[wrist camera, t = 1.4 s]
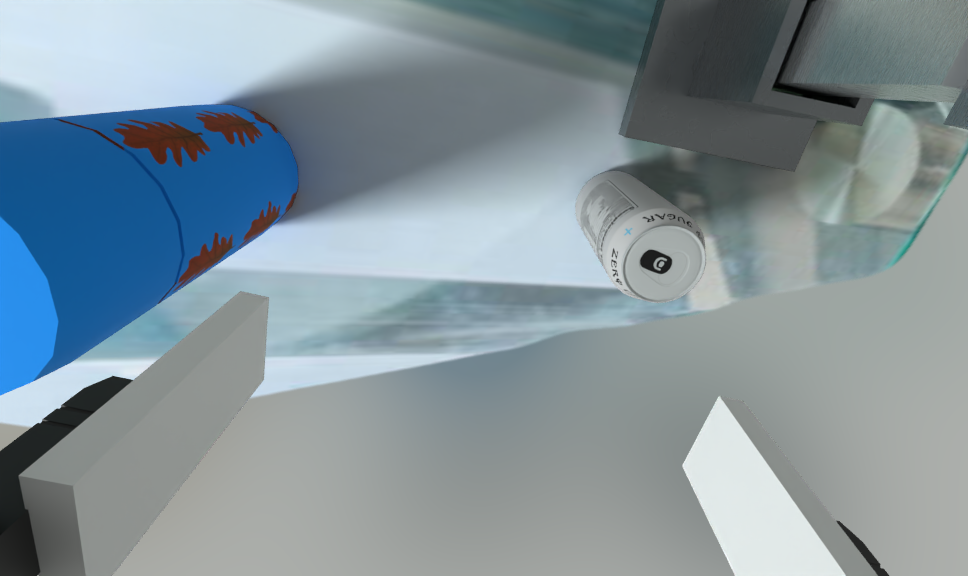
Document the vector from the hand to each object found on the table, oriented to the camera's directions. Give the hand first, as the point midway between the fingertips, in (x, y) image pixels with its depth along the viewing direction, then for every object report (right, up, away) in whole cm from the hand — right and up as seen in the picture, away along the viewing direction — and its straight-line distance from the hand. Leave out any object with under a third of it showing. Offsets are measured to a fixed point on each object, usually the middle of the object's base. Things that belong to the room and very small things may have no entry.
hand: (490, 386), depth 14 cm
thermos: (-21, +13, +27) cm, 37 cm away
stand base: (+19, +20, +23) cm, 36 cm away
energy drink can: (+11, +10, +28) cm, 32 cm away
